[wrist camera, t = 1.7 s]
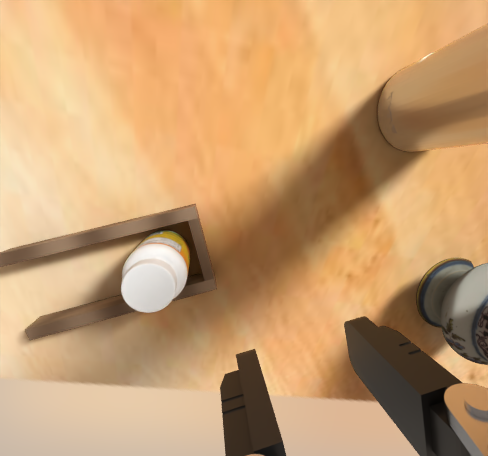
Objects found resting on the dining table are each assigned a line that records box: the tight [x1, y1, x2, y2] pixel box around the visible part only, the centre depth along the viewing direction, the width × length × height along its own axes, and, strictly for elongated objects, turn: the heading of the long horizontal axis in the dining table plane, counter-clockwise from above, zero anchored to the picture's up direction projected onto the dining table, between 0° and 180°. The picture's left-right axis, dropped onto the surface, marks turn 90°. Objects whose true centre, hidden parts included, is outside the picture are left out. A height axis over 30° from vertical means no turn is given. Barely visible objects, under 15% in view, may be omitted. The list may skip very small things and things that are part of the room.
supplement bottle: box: [121, 230, 190, 313], centre depth 25 cm, size 5×5×10 cm
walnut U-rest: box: [0, 204, 217, 340], centre depth 28 cm, size 19×9×3 cm, turn 103°
